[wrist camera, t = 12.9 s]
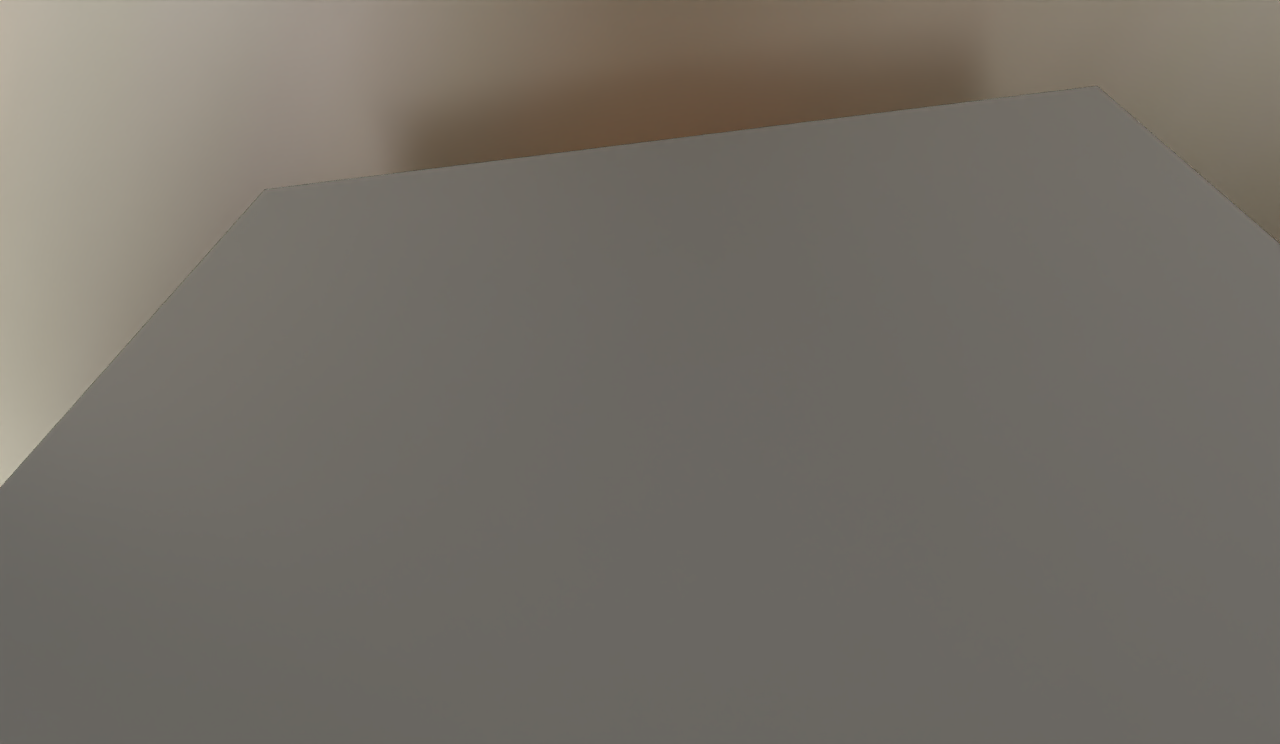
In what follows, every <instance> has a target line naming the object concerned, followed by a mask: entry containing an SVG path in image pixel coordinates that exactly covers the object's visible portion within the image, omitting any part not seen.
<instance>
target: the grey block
mask: <svg viewBox="0 0 1280 744" xmlns="http://www.w3.org/2000/svg"><path fill="white" fill-rule="evenodd" d="M0 744H1280V244H1279V243H1278V242H1277V241H1276V240H1275V239H1274V238H1272V237H1271V236H1270V235H1269V234H1268V233H1267V232H1265V231H1264V230H1263V229H1262V228H1261V227H1260V226H1258V225H1257V224H1256V223H1255V222H1254V221H1253V220H1252V219H1250V218H1249V217H1248V216H1247V215H1246V214H1245V213H1243V212H1242V211H1241V210H1240V209H1239V208H1238V207H1237V206H1235V205H1234V204H1233V203H1232V202H1231V201H1230V200H1228V199H1227V198H1226V197H1225V196H1224V195H1223V194H1222V193H1220V192H1219V191H1218V190H1217V189H1216V188H1215V187H1213V186H1212V185H1211V184H1210V183H1209V182H1208V181H1206V180H1205V179H1204V178H1203V177H1202V176H1201V175H1200V174H1198V173H1197V172H1196V171H1195V170H1194V169H1193V168H1191V167H1190V166H1189V165H1188V164H1187V163H1186V162H1185V161H1183V160H1182V159H1181V158H1180V157H1179V156H1178V155H1176V154H1175V153H1174V152H1173V151H1172V150H1171V149H1169V148H1168V147H1167V146H1166V145H1165V144H1164V143H1163V142H1161V141H1160V140H1159V139H1158V138H1157V137H1156V136H1154V135H1153V134H1152V133H1151V132H1150V131H1149V130H1148V129H1146V128H1145V127H1144V126H1143V125H1142V124H1141V123H1139V122H1138V121H1137V120H1136V119H1135V118H1134V117H1132V116H1131V115H1130V114H1129V113H1128V112H1127V111H1126V110H1124V109H1123V108H1122V107H1121V106H1120V105H1119V104H1117V103H1116V102H1115V101H1114V100H1113V99H1112V98H1111V97H1109V96H1108V95H1107V94H1106V93H1105V92H1104V91H1102V90H1101V89H1100V88H1099V87H1098V86H1091V87H1083V88H1075V89H1067V90H1059V91H1051V92H1043V93H1035V94H1027V95H1019V96H1011V97H1003V98H995V99H987V100H979V101H971V102H963V103H955V104H947V105H939V106H931V107H923V108H915V109H907V110H899V111H890V112H882V113H874V114H866V115H858V116H850V117H842V118H834V119H826V120H818V121H810V122H802V123H794V124H786V125H778V126H770V127H762V128H754V129H746V130H738V131H730V132H722V133H714V134H706V135H698V136H690V137H682V138H674V139H666V140H658V141H650V142H641V143H633V144H625V145H617V146H609V147H601V148H593V149H585V150H577V151H569V152H561V153H553V154H545V155H537V156H529V157H521V158H513V159H505V160H497V161H489V162H481V163H473V164H465V165H457V166H449V167H441V168H433V169H425V170H417V171H409V172H400V173H392V174H384V175H376V176H368V177H360V178H352V179H344V180H336V181H328V182H320V183H312V184H304V185H296V186H288V187H280V188H272V189H265V190H264V191H263V192H262V193H261V194H260V195H259V196H258V198H257V199H256V200H255V201H254V202H253V203H252V204H251V205H250V207H249V208H248V209H247V210H246V211H245V212H244V213H243V215H242V216H241V217H240V218H239V219H238V220H237V221H236V222H235V224H234V225H233V226H232V227H231V228H230V229H229V230H228V231H227V233H226V234H225V235H224V236H223V237H222V238H221V239H220V240H219V242H218V243H217V244H216V245H215V246H214V247H213V248H212V249H211V251H210V252H209V253H208V254H207V255H206V256H205V257H204V258H203V260H202V261H201V262H200V263H199V264H198V265H197V266H196V268H195V269H194V270H193V271H192V272H191V273H190V274H189V275H188V277H187V278H186V279H185V280H184V281H183V282H182V283H181V284H180V286H179V287H178V288H177V289H176V290H175V291H174V292H173V293H172V295H171V296H170V297H169V298H168V299H167V300H166V301H165V302H164V304H163V305H162V306H161V307H160V308H159V309H158V310H157V311H156V313H155V314H154V315H153V316H152V317H151V318H150V319H149V321H148V322H147V323H146V324H145V325H144V326H143V327H142V328H141V330H140V331H139V332H138V333H137V334H136V335H135V336H134V337H133V339H132V340H131V341H130V342H129V343H128V344H127V345H126V346H125V348H124V349H123V350H122V351H121V352H120V353H119V354H118V355H117V357H116V358H115V359H114V360H113V361H112V362H111V363H110V364H109V366H108V367H107V368H106V369H105V370H104V371H103V372H102V373H101V375H100V376H99V377H98V378H97V379H96V380H95V381H94V383H93V384H92V385H91V386H90V387H89V388H88V389H87V390H86V392H85V393H84V394H83V395H82V396H81V397H80V398H79V399H78V401H77V402H76V403H75V404H74V405H73V406H72V407H71V408H70V410H69V411H68V412H67V413H66V414H65V415H64V416H63V417H62V419H61V420H60V421H59V422H58V423H57V424H56V425H55V426H54V428H53V429H52V430H51V431H50V432H49V433H48V434H47V436H46V437H45V438H44V439H43V440H42V441H41V442H40V443H39V445H38V446H37V447H36V448H35V449H34V450H33V451H32V452H31V454H30V455H29V456H28V457H27V458H26V459H25V460H24V461H23V463H22V464H21V465H20V466H19V467H18V468H17V469H16V470H15V472H14V473H13V474H12V475H11V476H10V477H9V478H8V479H7V481H6V482H5V483H4V484H3V485H2V486H1V487H0Z"/></svg>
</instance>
